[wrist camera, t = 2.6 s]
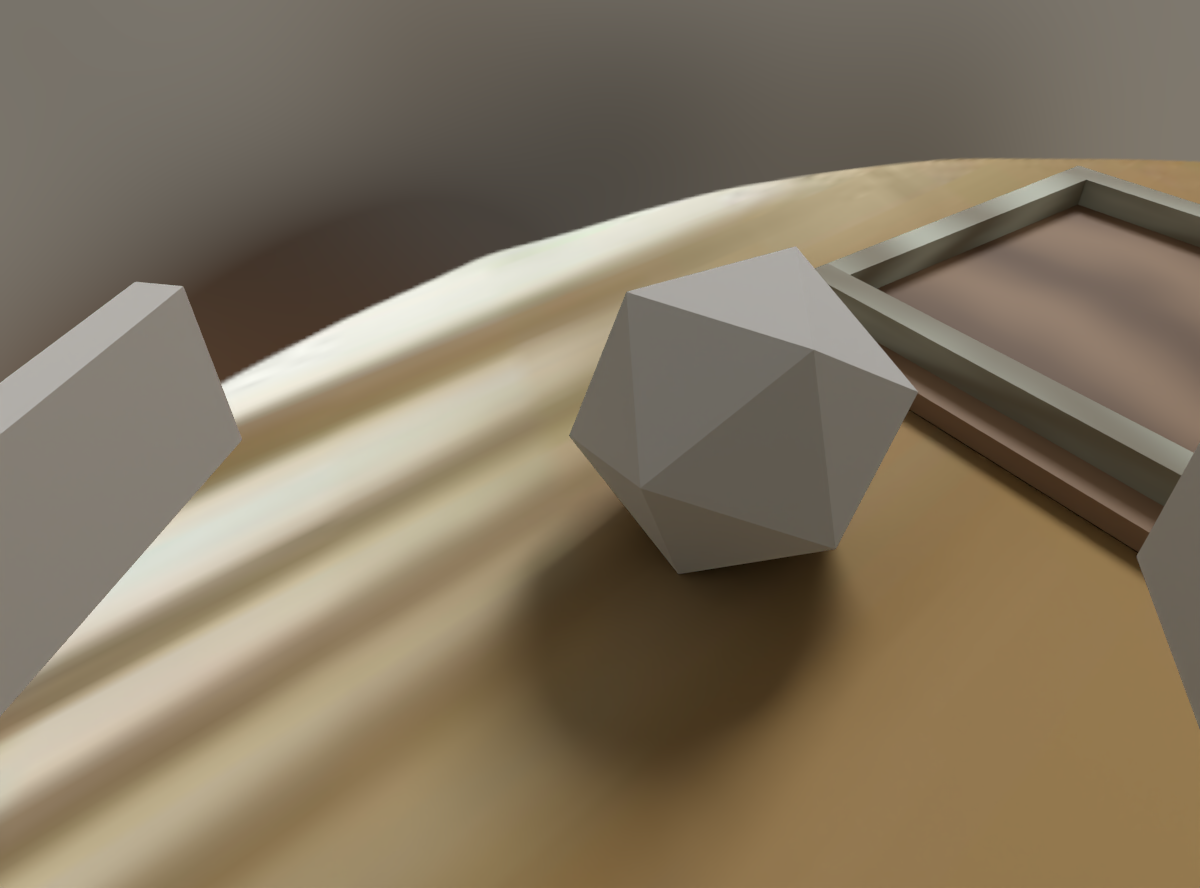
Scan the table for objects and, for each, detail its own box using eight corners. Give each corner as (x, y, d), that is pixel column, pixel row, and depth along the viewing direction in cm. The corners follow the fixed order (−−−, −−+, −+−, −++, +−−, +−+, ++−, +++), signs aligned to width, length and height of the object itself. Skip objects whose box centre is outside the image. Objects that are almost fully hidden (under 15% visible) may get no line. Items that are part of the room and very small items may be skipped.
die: (885, 662, 22) (1026, 311, 21) (598, 614, 18) (747, 183, 17) (728, 548, 29) (825, 284, 28) (501, 498, 26) (600, 191, 24)
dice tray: (1274, 636, 21) (1313, 584, 20) (754, 312, 34) (758, 269, 33) (1578, 371, 29) (1620, 321, 28) (1058, 190, 42) (1070, 151, 41)
